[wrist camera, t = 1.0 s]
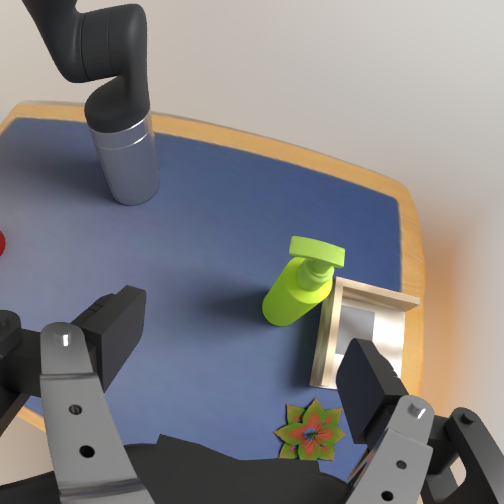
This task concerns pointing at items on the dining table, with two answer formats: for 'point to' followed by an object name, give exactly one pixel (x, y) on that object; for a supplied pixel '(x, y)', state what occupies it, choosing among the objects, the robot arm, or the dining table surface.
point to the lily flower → (324, 435)
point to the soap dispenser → (302, 280)
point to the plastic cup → (2, 243)
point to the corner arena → (358, 326)
